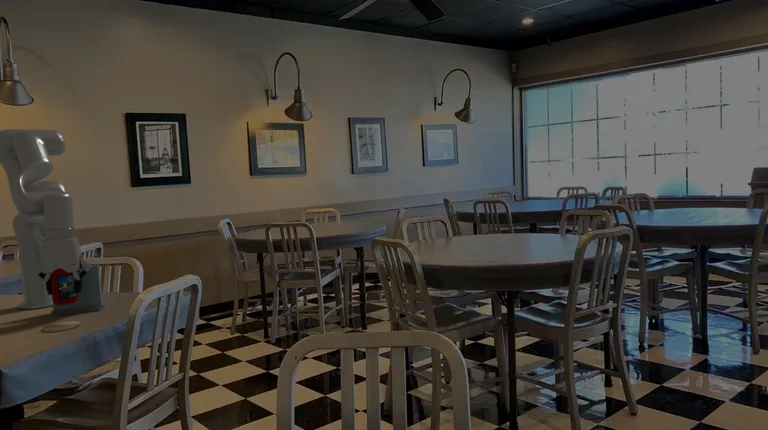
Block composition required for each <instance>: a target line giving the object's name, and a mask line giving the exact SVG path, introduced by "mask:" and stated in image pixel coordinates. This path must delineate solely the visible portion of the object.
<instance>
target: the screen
mask: <svg viewBox="0 0 768 430" xmlns="http://www.w3.org/2000/svg"><path fill="white" fill-rule="evenodd" d="M91 265H92V268H91V269H90V270H89V271H88V273H87V274H86V275H85V276H84V277H83V278H82V286H83V289H82V290H81V292H79V293H78V300H77V301H76V302H75V303H73V304H70V305H64V306H59V305H56V304H54V303H53V306H52V309H53V310H51V312H50V313H51V316H53V315H65V314H66V315H67V314H79V313H88V312H89V313H90V312H99V311H101V310H103V309H105V308H106V304H105V303H104V301H103V300H104V299H103V289H102V281H101V269H100V264H91ZM84 269H85V267H84V266H82V268H81V269H79V270H80V271H81V272H82V271H83V270H84ZM52 300H53V298H52Z"/></svg>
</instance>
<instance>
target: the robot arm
mask: <svg viewBox="0 0 768 430" xmlns="http://www.w3.org/2000/svg"><path fill="white" fill-rule="evenodd" d="M65 150H66V141H65V138H64V136H63V134H61V132H59V130H55V129H33V128H32V129H29V128H28V129H26V128H24V129H23V128H22V129H21V128H20V129H19V128H10V129H2V130H0V165H1V167H2V168H3V170H4V172H5V173H6V177H7V182H8V186H9V191H10V195H11V199H12V201H13V202H12V203H13V205H14V206H15V208H16V210H17V212H18V214H16V215H15V216H14V217H13V219H12V228H13V229H12V230H13V231H14V232H13V233H14V236H15V239H16V243H17V249H18V255H19V264H20V265H19V266H20V274H21V284H22V293H23V302H21V303H19V304H18V309H20V310H32V309H33V310H34V309H42V308H47V307H53V300H52V287H51V275H50V274H52V273H53V271H54V270H55V269H58V268H61V269H64V270H65V271H66V272H68V273H72V272H73V275H74V277H75V278H76V280H75V281H74V286H75V293H76V294H77V293H79V292H81V290H82V289H83V286H82V278H83V277H84V276H85V275H86V274H87V273H88V271H89V270H90V269H91V268H92V265H93V264H91V263H89V262H88V261H86V260H85V259H84V258H83V255H82V251H81V250H82V249H81V245H80V243H79V239H78V237H76V234H75V233H76V232H75V220H74V208H73V205H74V204H73V197H72V195H71V194H70V193H69V192H67V189H66V187H65V185H64V184H63V183H62V182H60V181H59V180H42V179H45V178H47V177H48V176H50V174H51V173H52V172H53V170H54V165H53V162H52V160H51V157H50V156H55V157H56V156H62V155H64V154H65ZM82 266H84V267H85V269H84V270H83V271H82V272H81V271H80V270H79V269H81V268H82Z"/></svg>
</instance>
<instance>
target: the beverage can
mask: <svg viewBox="0 0 768 430" xmlns="http://www.w3.org/2000/svg"><path fill="white" fill-rule="evenodd" d="M50 275H51V287H52V298H53V303H54V304H56V305H59V306H64V305H70V304H73V303H75V302H76V301H77V300H78V293H77V294H76V293H75V286H74V281H75V280H76V278H75V277H74V275H73V272H72V273H68V272H66V271H65V270H64V269H61V268H58V269H55V270H54V271H53V273H52V274H50Z"/></svg>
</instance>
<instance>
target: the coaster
mask: <svg viewBox="0 0 768 430" xmlns="http://www.w3.org/2000/svg"><path fill="white" fill-rule="evenodd" d="M80 326H81V321H79V320H70V321H68V320H67V321H62V322H55V323H52V324H48V325H45V326H43V327H42V332H44V333H57V332H64V331H70V330H73V329H76V328H79V327H80Z"/></svg>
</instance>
